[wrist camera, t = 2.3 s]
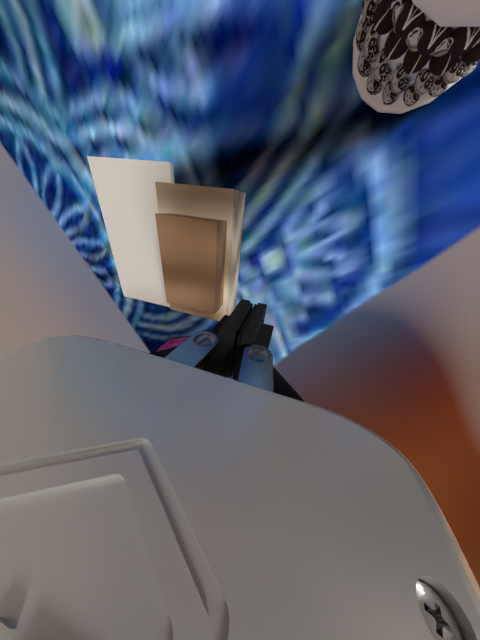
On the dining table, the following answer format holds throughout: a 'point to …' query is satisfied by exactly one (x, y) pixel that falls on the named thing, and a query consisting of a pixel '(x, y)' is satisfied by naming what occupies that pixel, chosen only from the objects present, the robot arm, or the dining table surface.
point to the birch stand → (210, 206)
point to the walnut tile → (192, 260)
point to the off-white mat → (133, 221)
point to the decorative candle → (413, 50)
